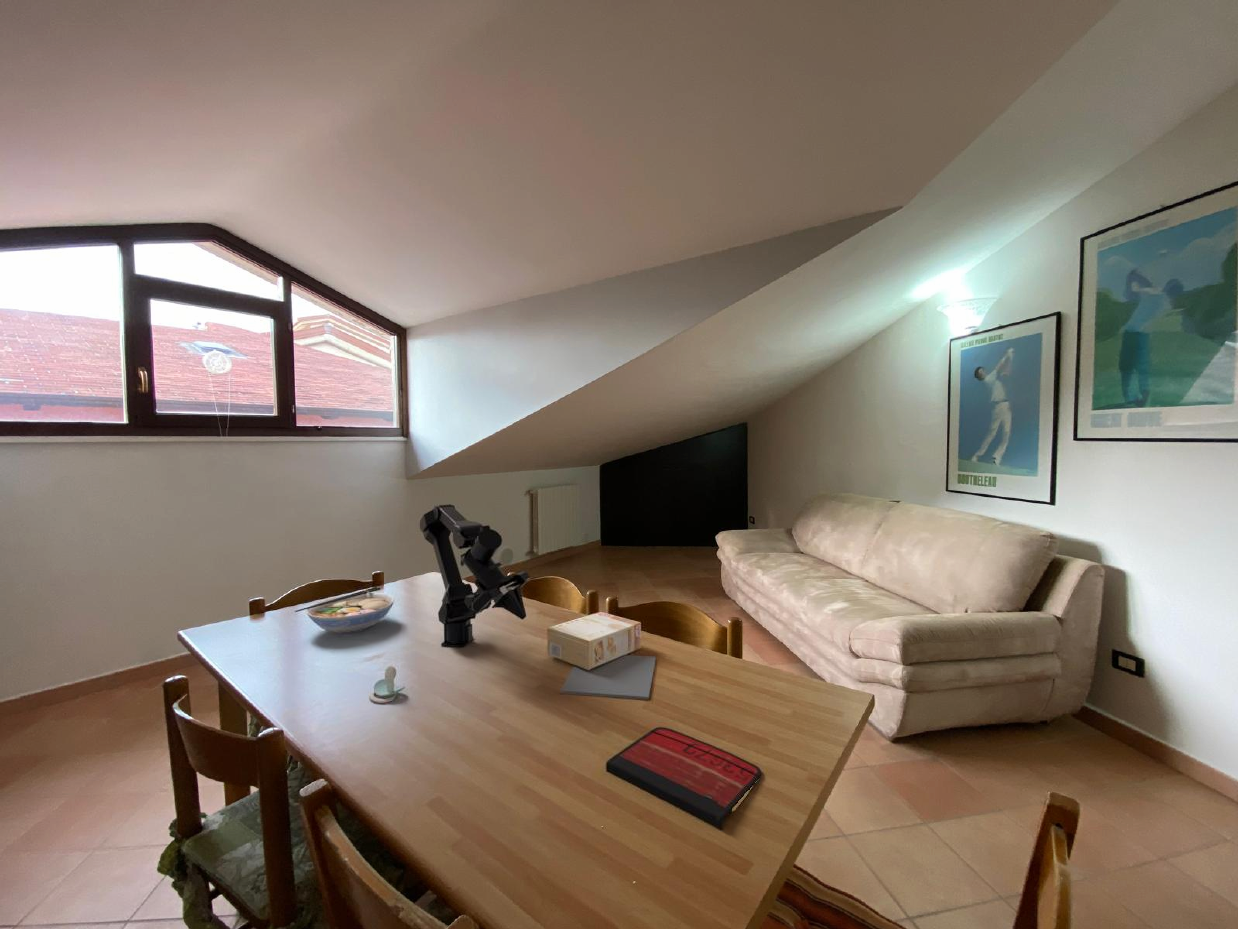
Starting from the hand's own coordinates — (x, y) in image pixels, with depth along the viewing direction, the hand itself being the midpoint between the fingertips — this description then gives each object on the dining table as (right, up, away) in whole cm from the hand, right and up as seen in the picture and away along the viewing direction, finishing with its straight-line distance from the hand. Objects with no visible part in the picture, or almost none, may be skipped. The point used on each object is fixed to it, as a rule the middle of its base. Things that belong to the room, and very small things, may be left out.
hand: (524, 618), depth 121 cm
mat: (+21, -12, -4) cm, 25 cm away
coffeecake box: (+10, -7, 0) cm, 12 cm away
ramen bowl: (-55, -11, +26) cm, 62 cm away
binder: (+34, -14, -38) cm, 53 cm away
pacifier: (-27, -13, -14) cm, 33 cm away
